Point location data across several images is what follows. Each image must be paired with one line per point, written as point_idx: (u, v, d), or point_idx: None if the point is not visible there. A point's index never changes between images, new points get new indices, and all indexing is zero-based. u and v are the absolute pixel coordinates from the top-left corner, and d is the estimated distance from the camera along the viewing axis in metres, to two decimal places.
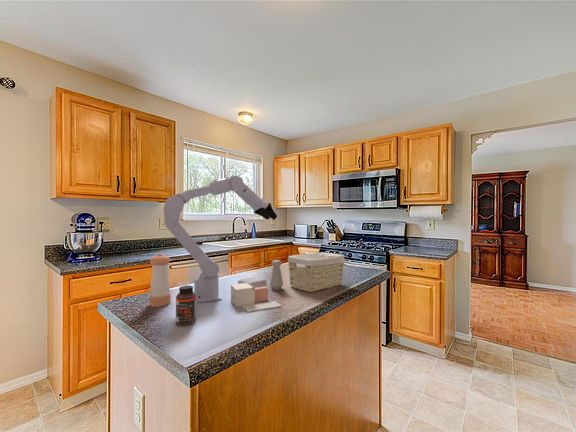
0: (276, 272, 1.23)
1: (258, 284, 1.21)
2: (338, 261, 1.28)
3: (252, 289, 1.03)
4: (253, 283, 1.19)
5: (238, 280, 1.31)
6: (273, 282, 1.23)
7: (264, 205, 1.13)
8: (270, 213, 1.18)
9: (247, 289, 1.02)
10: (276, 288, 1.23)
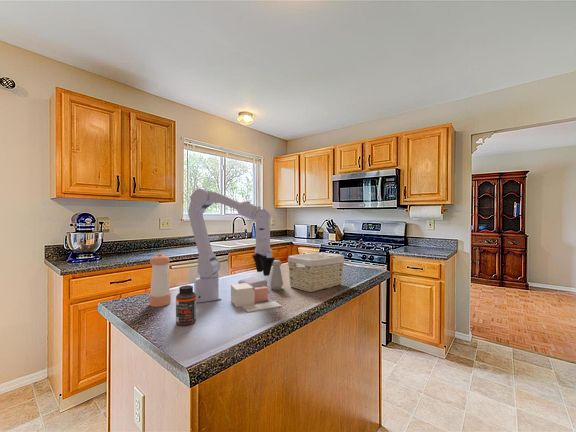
0: (276, 272, 1.23)
1: (258, 284, 1.20)
2: (338, 261, 1.28)
3: (252, 289, 1.03)
4: (254, 283, 1.19)
5: None
6: (273, 282, 1.23)
7: (269, 254, 1.03)
8: (266, 267, 1.05)
9: (247, 289, 1.02)
10: (276, 288, 1.23)
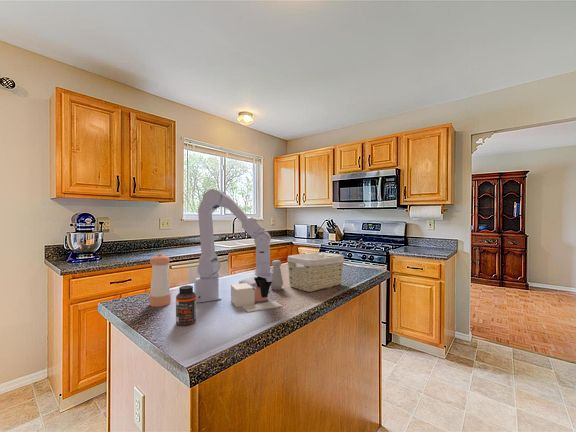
0: (276, 272, 1.23)
1: None
2: (337, 261, 1.28)
3: (252, 289, 1.03)
4: (254, 284, 1.18)
5: None
6: (273, 282, 1.23)
7: (269, 278, 1.03)
8: (264, 288, 1.07)
9: (247, 289, 1.02)
10: (276, 288, 1.23)
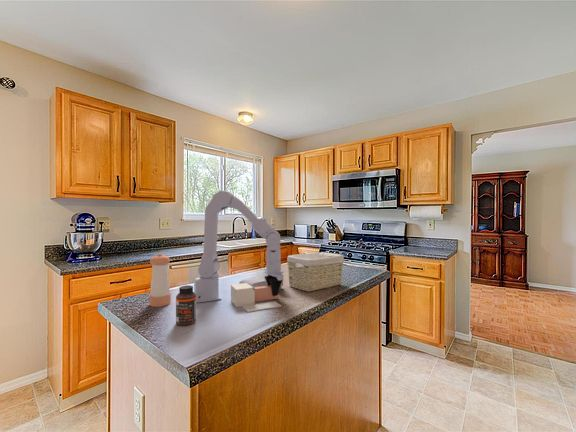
0: None
1: (260, 285, 1.20)
2: (337, 261, 1.28)
3: (252, 289, 1.03)
4: (255, 284, 1.18)
5: None
6: None
7: (280, 277, 1.05)
8: (275, 287, 1.09)
9: (247, 289, 1.02)
10: None
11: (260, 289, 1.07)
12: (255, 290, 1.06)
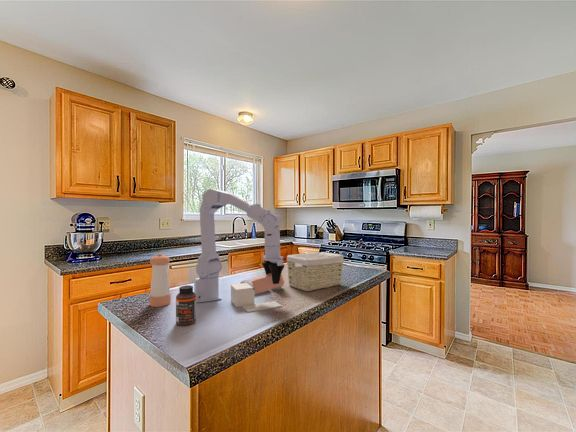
0: None
1: None
2: (336, 261, 1.28)
3: (252, 289, 1.03)
4: None
5: (241, 281, 1.30)
6: None
7: (280, 262, 0.96)
8: (275, 274, 0.99)
9: (247, 289, 1.02)
10: (276, 288, 1.23)
11: (260, 280, 1.02)
12: (255, 281, 1.03)
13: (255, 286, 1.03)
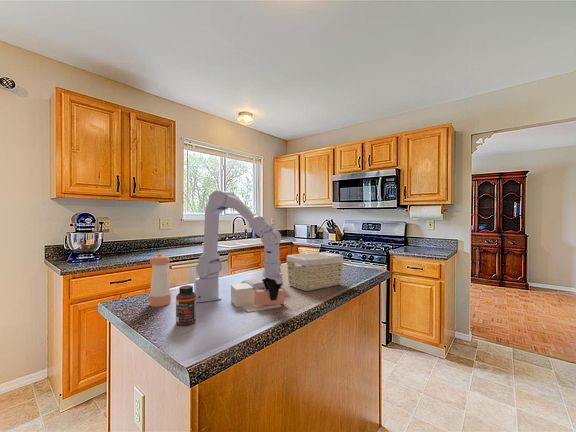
0: None
1: (261, 285, 1.19)
2: (336, 261, 1.28)
3: (252, 289, 1.03)
4: (256, 284, 1.17)
5: None
6: None
7: (279, 280, 0.96)
8: (273, 291, 1.00)
9: (247, 289, 1.02)
10: None
11: (266, 292, 1.00)
12: (260, 293, 0.99)
13: (258, 298, 0.99)
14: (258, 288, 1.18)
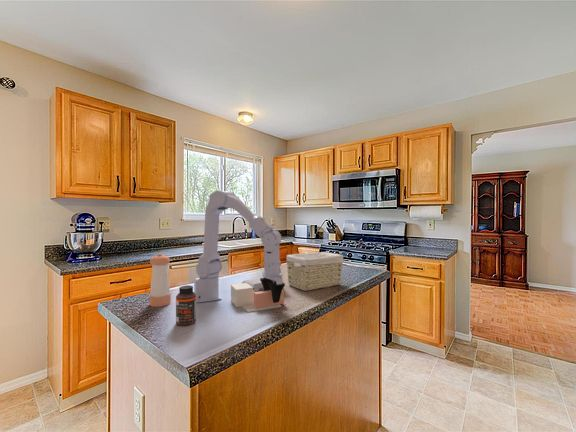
0: None
1: (261, 286, 1.18)
2: (336, 261, 1.28)
3: (252, 289, 1.03)
4: (256, 284, 1.17)
5: None
6: (273, 282, 1.23)
7: (279, 281, 0.96)
8: (276, 293, 0.98)
9: (247, 289, 1.02)
10: None
11: (265, 294, 1.00)
12: (259, 295, 0.99)
13: (257, 300, 0.99)
14: (258, 288, 1.17)
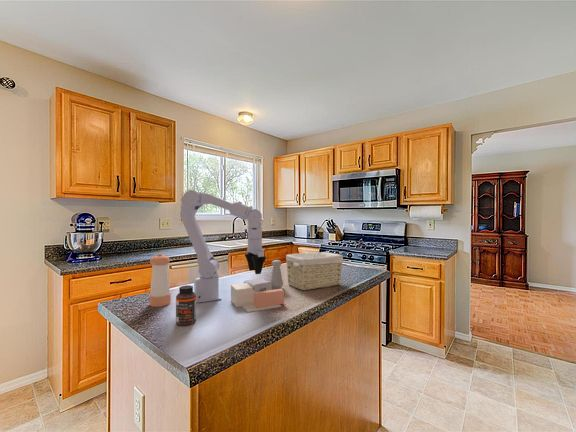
0: (276, 272, 1.23)
1: (262, 286, 1.17)
2: (335, 261, 1.28)
3: (252, 289, 1.03)
4: (257, 285, 1.16)
5: None
6: (273, 282, 1.23)
7: (260, 253, 1.05)
8: (258, 265, 1.08)
9: (247, 289, 1.02)
10: (276, 288, 1.23)
11: (265, 294, 1.00)
12: (259, 295, 0.99)
13: (257, 300, 0.99)
14: (259, 289, 1.17)
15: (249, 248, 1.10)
